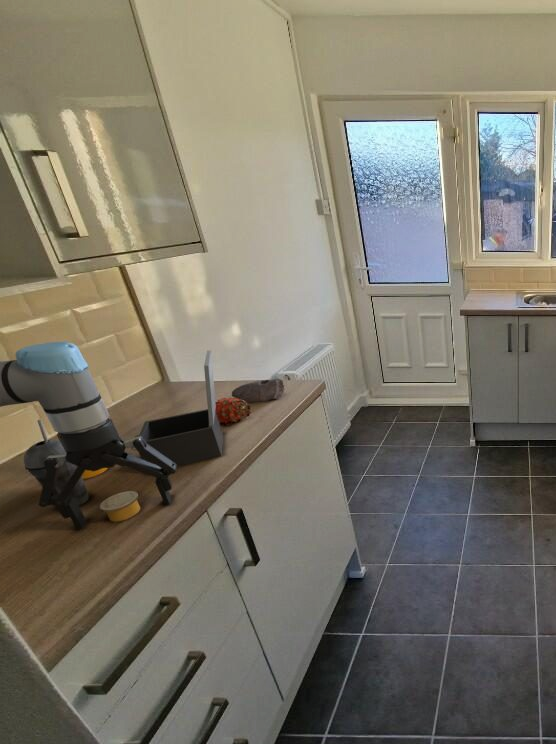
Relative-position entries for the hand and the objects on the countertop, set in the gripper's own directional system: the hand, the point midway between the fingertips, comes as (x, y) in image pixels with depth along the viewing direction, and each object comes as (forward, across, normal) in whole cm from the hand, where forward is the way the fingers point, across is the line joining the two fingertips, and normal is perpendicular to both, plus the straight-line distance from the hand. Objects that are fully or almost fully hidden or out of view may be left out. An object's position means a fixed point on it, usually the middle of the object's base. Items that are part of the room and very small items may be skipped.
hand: (127, 515), depth 85 cm
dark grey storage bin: (0, -9, -21) cm, 23 cm away
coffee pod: (0, 0, 0) cm, 0 cm away
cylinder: (0, +10, -23) cm, 25 cm away
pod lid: (-17, -17, -21) cm, 32 cm away
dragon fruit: (0, -18, -35) cm, 39 cm away
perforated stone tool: (0, -26, -47) cm, 54 cm away
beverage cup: (0, +10, -10) cm, 14 cm away
